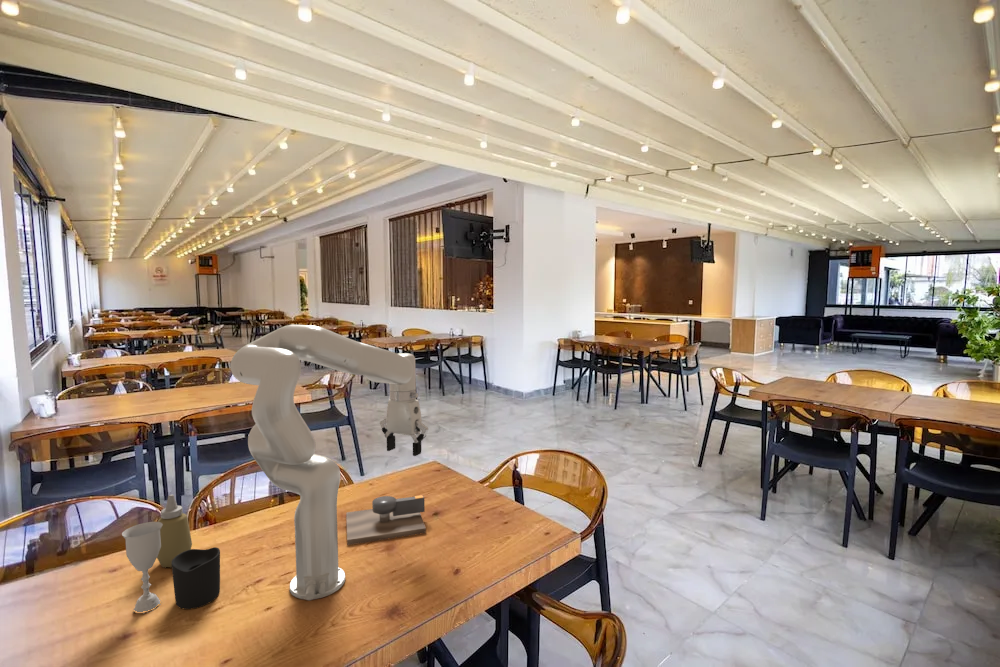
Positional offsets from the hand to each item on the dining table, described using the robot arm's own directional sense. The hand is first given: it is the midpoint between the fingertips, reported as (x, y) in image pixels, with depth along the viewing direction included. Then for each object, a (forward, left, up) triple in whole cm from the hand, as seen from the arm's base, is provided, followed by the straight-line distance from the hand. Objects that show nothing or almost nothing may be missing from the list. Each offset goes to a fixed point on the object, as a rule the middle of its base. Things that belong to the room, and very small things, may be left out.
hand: (403, 452), depth 144 cm
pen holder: (-20, +50, -23) cm, 58 cm away
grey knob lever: (+3, +1, -20) cm, 21 cm away
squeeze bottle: (-1, +60, -23) cm, 64 cm away
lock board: (+3, +6, -23) cm, 24 cm away
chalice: (-20, +60, -23) cm, 67 cm away
